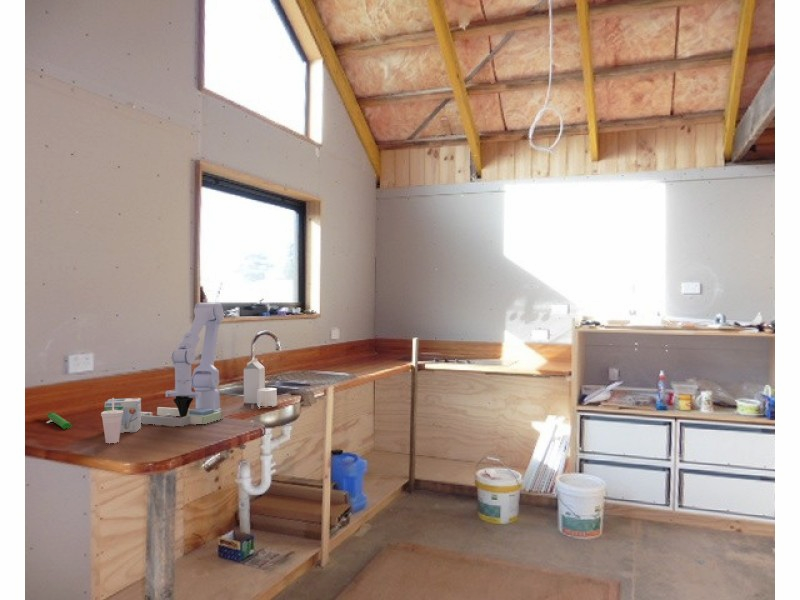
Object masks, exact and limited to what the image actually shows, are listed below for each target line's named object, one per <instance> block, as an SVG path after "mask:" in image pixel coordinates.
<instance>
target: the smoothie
mask: <svg viewBox="0 0 800 600" xmlns="http://www.w3.org/2000/svg"><path fill="white" fill-rule="evenodd" d="M111 399H112V410H110V411H105V410H104V411H102V412H101V413H100V417H101V418H102V426H103V432H104V433H103V434H104V440H105V444H106V443H109V444H108V445H110V443H114V444H117V442H118V443H119V442H120V436H121V433H120V429H121V421H122V415H123V411H122V410H114V399H115V398H114V397H112V398H111Z"/></svg>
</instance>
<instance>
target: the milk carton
mask: <svg viewBox="0 0 800 600" xmlns="http://www.w3.org/2000/svg"><path fill="white" fill-rule="evenodd" d="M265 370H266V367H265V366H264V365H263V364H262V363H260V361H259V360H258V358H257V357H256V358H253V359H251V360H250V361H249V362H247V363H246V367H245V368H243V404H257V389H260V388H266V375H265V374H266V371H265Z"/></svg>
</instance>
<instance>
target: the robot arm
mask: <svg viewBox="0 0 800 600" xmlns="http://www.w3.org/2000/svg"><path fill="white" fill-rule="evenodd" d="M193 313H194V318H193V321H192V324H191V326H190V329H189V331H188V332H185V334H184V336H183V338H182V340H181V341H180V344H179V345H178V348H176V349H174V350H173V351H172V354H171V357H170V358H171V361H172V365H173V368H174V389H175V390H167V391H165V397H166V398H169V397H170V398H173V403H174V404H175V406H176V408H178V410H179V414H180V417H179V418H181V417H185V416H187V412H188V409H190V406H191V404H192V402H193V400H194V399H195V409H200V408H205V409H214V410H220V411H223V410H222V408H221V405H220V404H221V403H220V402H221V399H220V398H221V397H220V395H221V394H220V391H219V389H217V388H218V386H219V385H220V371H219V369H218V368H217V367H216V366H215V365H214V364H215V358H216V352H217V351H216V350H217V346H218V344H217V343H218V339H219V338H218V337H219V330H220V325H221V324H222V322H223V316H224V308H223V305H222V303H221V302H197V303H196V304H195V305H194V308H193ZM204 327H205V332H204V337H203V345H202V351H201V358H200V364H199V365H198V366H196V367H195V368H194V369H193V371H192V364H193V362H194V361H195V355H196V348H197V346H198V343H199V341H200V337H199V335H200V333H201V331H202V330H203V328H204ZM192 388H193V391H192Z"/></svg>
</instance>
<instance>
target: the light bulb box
mask: <svg viewBox="0 0 800 600" xmlns="http://www.w3.org/2000/svg"><path fill="white" fill-rule="evenodd" d="M141 404H142V398H141V397H134V398H133V397H132V398H114V410H122V411H123V415H122V421H121V429H120V434H125V433H124V432H130V433H138V432H139V431H140V430H141V429H142V424H141V412H142V405H141ZM110 410H112V398H110V399H108V400H106V401H105V402H104V411H110ZM139 429H140V430H139ZM138 430H139V431H138ZM137 431H138V432H137Z"/></svg>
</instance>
